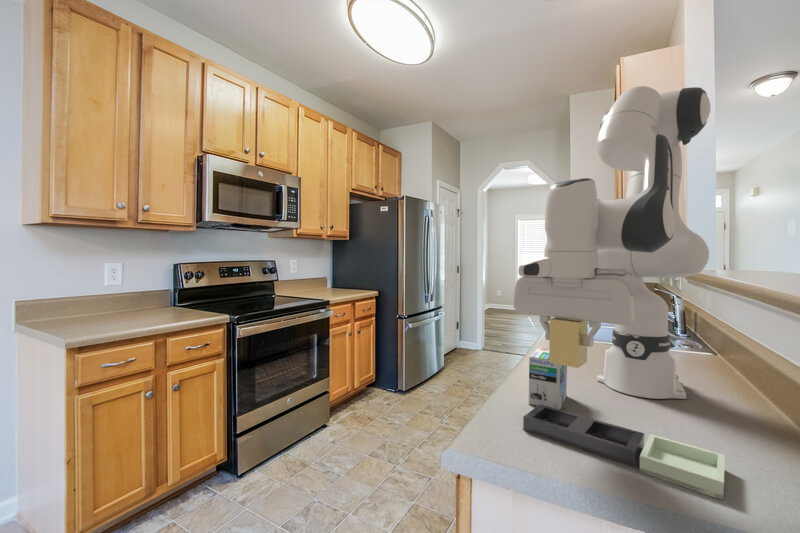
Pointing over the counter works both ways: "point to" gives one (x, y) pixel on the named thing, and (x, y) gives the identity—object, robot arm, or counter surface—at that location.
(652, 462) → the tray
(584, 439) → the dark grey flat frame
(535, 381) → the light bulb box
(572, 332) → the tan rectangular block
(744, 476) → the counter surface
